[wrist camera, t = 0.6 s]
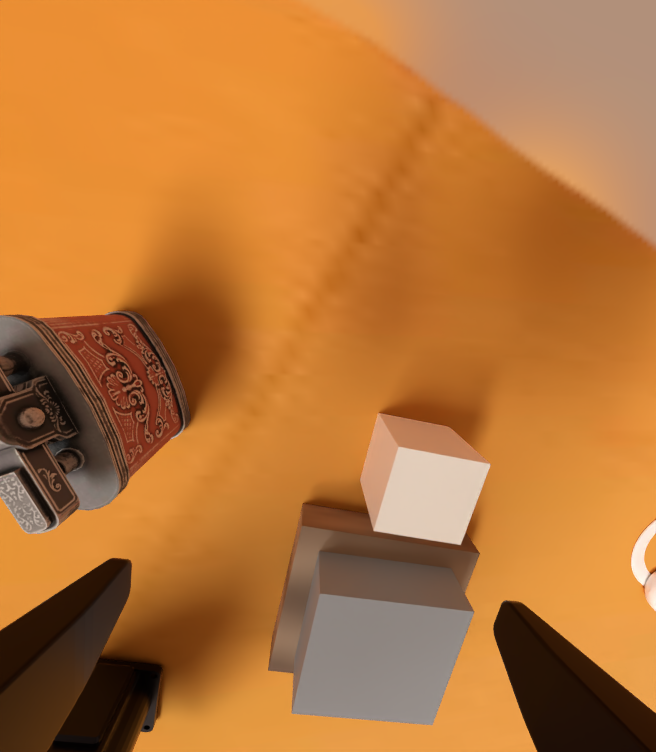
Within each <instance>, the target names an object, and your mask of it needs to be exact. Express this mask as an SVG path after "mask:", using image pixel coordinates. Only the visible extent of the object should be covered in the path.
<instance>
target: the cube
mask: <svg viewBox="0 0 656 752" xmlns="http://www.w3.org/2000/svg"><path fill="white" fill-rule="evenodd" d="M490 465H491V464H490V463H489V462H488V461H487V460H486V459H485V458H483V457H482V456H481V455H480V454H479V453H478V452H477V451H476V450H475V449H474V448H472V447H471V446H470V445H469V444H468V443H467V442H466V441H465V440H464V439H462V438H461V437H460V436H459V435H458V434H457V433H456V432H455V431H454V430H452V429H451V428H450V427H448V426H443V425H438V424H432V423H427V422H422V421H417V420H412V419H407V418H402V417H397V416H392V415H387V414H382V413H378V416H377V419H376V423H375V427H374V430H373V434H372V438H371V441H370V445H369V449H368V452H367V456H366V460H365V463H364V467H363V471H362V474H361V478H360V482H361V486H362V489H363V493H364V497H365V501H366V504H367V508H368V512H369V516H370V519H371V523H372V527H373V531H377V532H383V533H389V534H395V535H402V536H408V537H414V538H420V539H427V540H433V541H439V542H445V543H452V544H458V545H461V543H462V540H463V538H464V535H465V532H466V530H467V527H468V524H469V521H470V519H471V516H472V513H473V511H474V508H475V505H476V503H477V500H478V497H479V495H480V492H481V489H482V486H483V484H484V481H485V478H486V476H487V473H488V470H489V468H490Z"/></svg>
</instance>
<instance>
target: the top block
mask: <svg viewBox="0 0 656 752" xmlns="http://www.w3.org/2000/svg"><path fill="white" fill-rule="evenodd" d="M473 614H474V611H473V609H472V607H471V605H470V603H469V601H468V599H467V597H466V595H465V593H464V592H463V590H462V588H461V586H460V584H459V582H458V580H457V578H456V576H455V575H454V573H453V571H452V569H451V568H444V567H437V566H429V565H422V564H414V563H406V562H399V561H391V560H384V559H376V558H368V557H361V556H353V555H346V554H338V553H330V552H323V551H319V552H318V557H317V561H316V566H315V570H314V575H313V579H312V583H311V588H310V592H309V597H308V601H307V606H306V610H305V614H304V619H303V623H302V628H301V632H300V637H299V641H298V645H297V650H296V654H295V660H294V679H293V699H292V714H303V715H316V716H328V717H340V718H352V719H364V720H376V721H388V722H400V723H412V724H424V725H433V722H434V719H435V717H436V714H437V711H438V708H439V706H440V703H441V700H442V698H443V695H444V692H445V690H446V687H447V684H448V681H449V679H450V676H451V673H452V671H453V668H454V665H455V662H456V660H457V657H458V654H459V652H460V649H461V646H462V644H463V641H464V638H465V635H466V633H467V630H468V627H469V625H470V622H471V619H472V617H473Z"/></svg>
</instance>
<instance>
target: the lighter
mask: <svg viewBox="0 0 656 752" xmlns="http://www.w3.org/2000/svg"><path fill="white" fill-rule="evenodd" d="M189 422H190V412H189V408H188V404H187V399H186V395H185V391H184V389H183V386H182V384H181V381H180V378H179V376H178V373H177V370H176V368H175V366H174V364H173V362H172V360H171V358H170V357H169V355H168V353H167V351H166V349H165V347H164V346H163V344H162V342H161V341H160V339H159V338H158V336H157V335H156V333H155V332H154V331H153V329H152V328H151V326H150V325H149V323H148V322H147V321H146V319H144V318H143V317H142V316H141V315H140V314H138V313H135V312H132V311H115V312H109V313H107V314H105V315H96V316H77V317H58V318H39V319H38V318H35V317H33V316H26V315H0V497H1V498H2V500H3V501H4V503H5V504H6V506H7V507H8V509H9V510H10V512H11V513H12V515H13V516H14V518H15V519H16V521H17V522H18V524H19V525H20V527H21V528H22V529H23V530H24V531H25V532H26V533H28V534H33V533H37V534H40V533H45V532H48V531H51V530H53V529H55V528H56V527H58V526H59V525H60V524H61V523H62V522H63V521H64V520H66V519H67V518H68V517H69V516H70V515H71V514H72V513H74V512H75V511H76V510H77V509H79V510H94V509H99V508H101V507H103V506H105V505H107V504H109V503H110V502H111V501H112V500H113V499H114V498H115V497H116V496H117V495H118V494H119V493H120V492H121V491H122V490H123V489H124V488H125V487H126V486H127V484H128V481H129V479H130V477H131V476H132V475H133V474H134V473H135V472H136V471H137V470H139V469H140V468H141V467H142V466H143V465H144V464H145V463H146V462H147V461H148V460H149V459H150V458H151V457H152V456H153V455H154V454H155V453H156V452H157V451H158V450H159V449H161V448H162V447H163V446H164V445H165V444H166V443H167V442H168V441H169V440H170V439H173V438H175V437H177V436H178V435H179V434H180V433H181V432H182V431H183V430H184V429H185V428H186V427H187V426H188V425H189Z"/></svg>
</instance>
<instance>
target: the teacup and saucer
mask: <svg viewBox="0 0 656 752" xmlns="http://www.w3.org/2000/svg"><path fill="white" fill-rule="evenodd" d="M655 533H656V520H654V521H653V522H652V523H651V524H650V525H649V526H648V527H647V528H646V529H645V530H644V531H643V532H642V534H641V535H640V536H639V538H638V540H637V541H636V543H635V546H634V548H633V551H632V556H631V567H632V571H633V574H634V576H635V577H636V579H637V580H638V581H639V582H640V583H641V584H642V585H643V586H645V596H646V599H647V601H648V603H649V604H650V606H651V607H652V608H653V609H654V610H655V611H656V571H655V572H654V573H653V574H652V575H651V574H650V573H649V572H648V570H647V569H646V566H645V563H644V553H645V549H646V547H647V545H648V543H649V541H650V540H651V538H652V537H653V536H654V535H655Z"/></svg>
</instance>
